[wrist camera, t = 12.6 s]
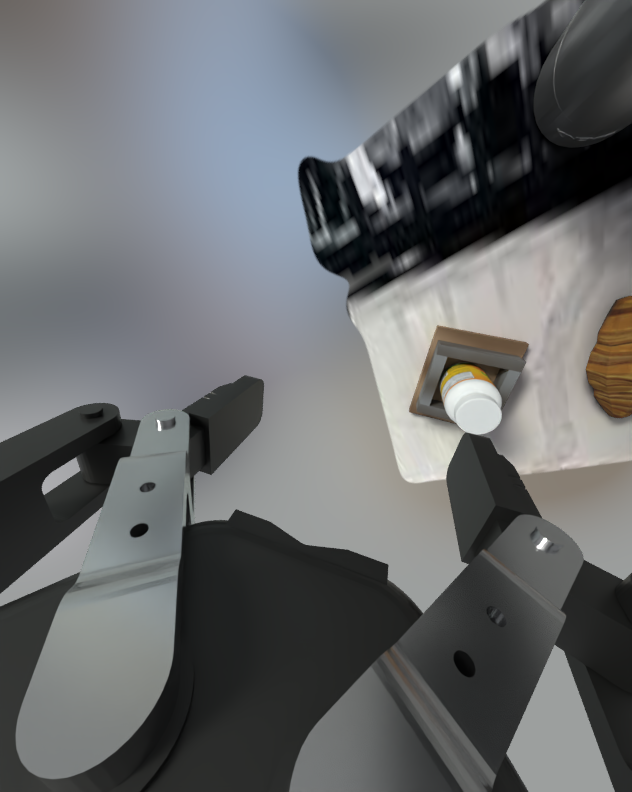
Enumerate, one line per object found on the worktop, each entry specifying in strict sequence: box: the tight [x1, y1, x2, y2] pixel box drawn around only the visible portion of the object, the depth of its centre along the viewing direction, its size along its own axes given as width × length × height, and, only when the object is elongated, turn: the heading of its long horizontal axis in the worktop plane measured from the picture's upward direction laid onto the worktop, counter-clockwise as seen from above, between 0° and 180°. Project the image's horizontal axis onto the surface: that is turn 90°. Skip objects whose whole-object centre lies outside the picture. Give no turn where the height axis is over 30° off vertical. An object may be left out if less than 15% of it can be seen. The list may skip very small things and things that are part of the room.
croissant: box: [586, 296, 632, 418], centre depth 29 cm, size 14×7×5 cm, turn 15°
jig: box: [409, 325, 529, 424], centre depth 35 cm, size 12×10×4 cm
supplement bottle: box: [439, 362, 502, 435], centre depth 31 cm, size 5×5×10 cm
